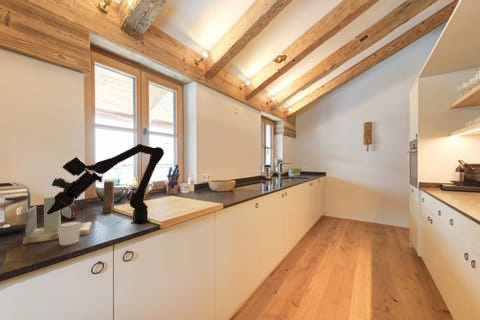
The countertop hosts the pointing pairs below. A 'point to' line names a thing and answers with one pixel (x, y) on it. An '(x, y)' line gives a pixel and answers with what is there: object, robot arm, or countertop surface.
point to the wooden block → (108, 197)
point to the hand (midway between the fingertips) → (50, 211)
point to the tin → (70, 211)
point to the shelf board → (39, 234)
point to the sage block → (51, 215)
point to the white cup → (69, 233)
